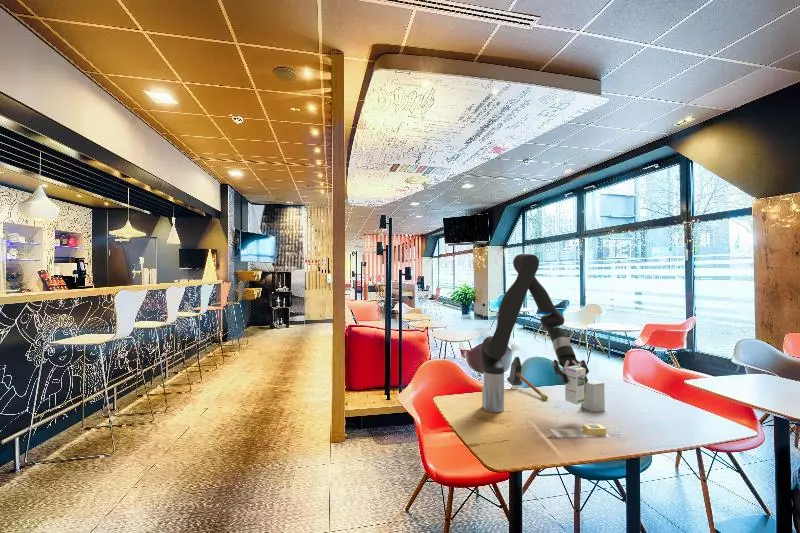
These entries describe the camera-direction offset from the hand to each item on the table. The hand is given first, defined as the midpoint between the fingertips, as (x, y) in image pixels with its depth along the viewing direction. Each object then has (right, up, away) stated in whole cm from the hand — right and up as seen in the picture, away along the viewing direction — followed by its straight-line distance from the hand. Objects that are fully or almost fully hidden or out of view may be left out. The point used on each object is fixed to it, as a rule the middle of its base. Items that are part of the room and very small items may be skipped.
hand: (576, 383), depth 153 cm
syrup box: (0, -8, +1) cm, 8 cm away
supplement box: (+16, -18, +18) cm, 30 cm away
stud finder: (+1, -16, -11) cm, 19 cm away
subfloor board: (-5, -17, -12) cm, 21 cm away
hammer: (-6, -18, +43) cm, 47 cm away
